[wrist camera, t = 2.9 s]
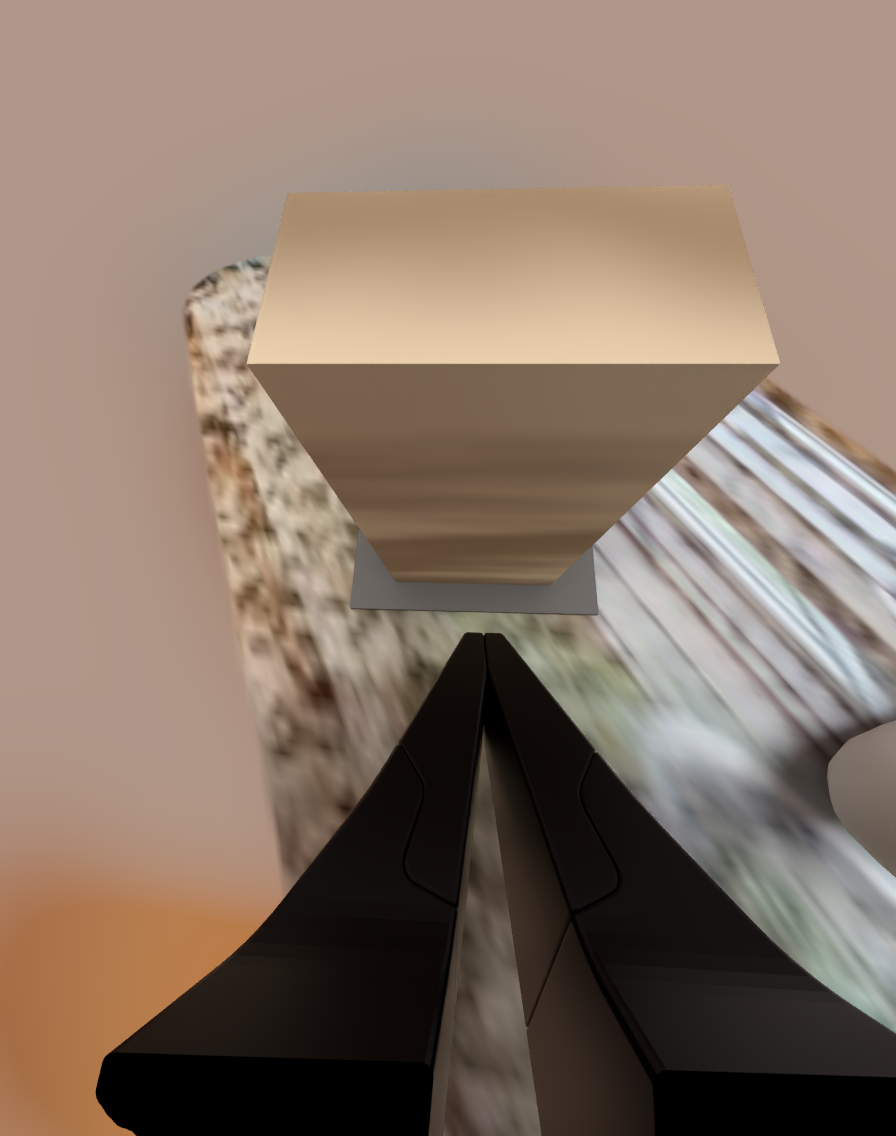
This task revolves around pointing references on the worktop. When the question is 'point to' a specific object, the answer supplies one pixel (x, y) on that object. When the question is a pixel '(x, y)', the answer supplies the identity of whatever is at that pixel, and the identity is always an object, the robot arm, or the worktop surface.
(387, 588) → the rubber mat
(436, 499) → the birch block
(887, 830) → the donut
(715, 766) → the worktop surface
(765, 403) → the worktop surface
